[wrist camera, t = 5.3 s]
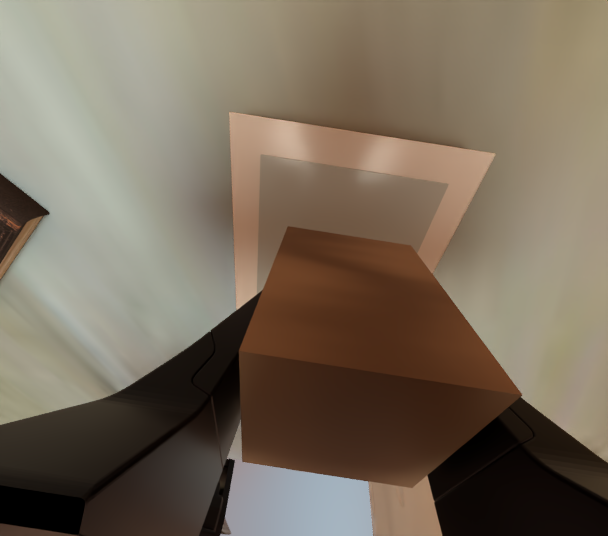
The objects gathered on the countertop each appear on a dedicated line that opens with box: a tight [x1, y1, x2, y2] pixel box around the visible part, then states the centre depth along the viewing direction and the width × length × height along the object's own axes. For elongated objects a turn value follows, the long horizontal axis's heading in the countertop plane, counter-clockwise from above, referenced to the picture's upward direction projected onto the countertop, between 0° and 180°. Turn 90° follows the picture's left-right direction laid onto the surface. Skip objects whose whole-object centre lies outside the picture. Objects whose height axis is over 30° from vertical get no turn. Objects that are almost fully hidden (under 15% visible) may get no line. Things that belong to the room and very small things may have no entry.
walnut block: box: [239, 226, 522, 488], centre depth 8 cm, size 5×5×6 cm
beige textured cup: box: [368, 476, 442, 536], centre depth 23 cm, size 8×8×10 cm
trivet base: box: [229, 112, 496, 310], centre depth 14 cm, size 12×12×3 cm
